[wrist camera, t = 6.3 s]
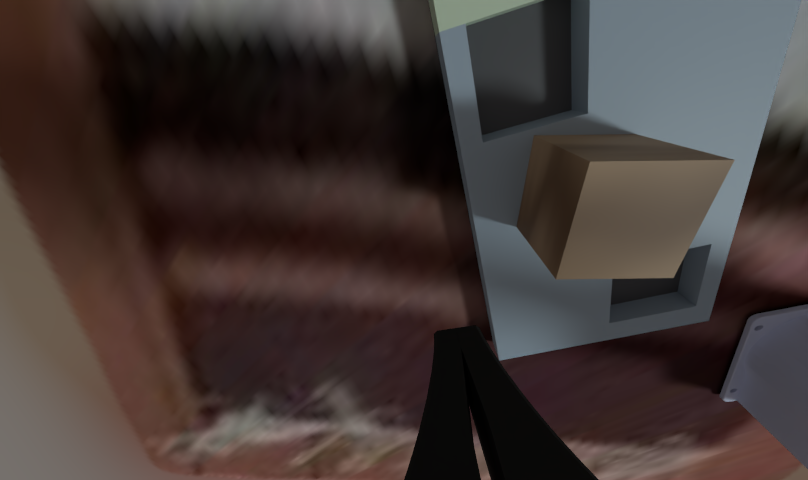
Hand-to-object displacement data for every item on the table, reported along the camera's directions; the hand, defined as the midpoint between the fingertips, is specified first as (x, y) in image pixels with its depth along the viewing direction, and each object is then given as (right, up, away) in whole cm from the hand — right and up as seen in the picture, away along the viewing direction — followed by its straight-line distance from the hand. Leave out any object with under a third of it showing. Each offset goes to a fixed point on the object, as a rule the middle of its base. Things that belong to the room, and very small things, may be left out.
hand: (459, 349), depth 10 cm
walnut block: (+6, +6, +5) cm, 10 cm away
